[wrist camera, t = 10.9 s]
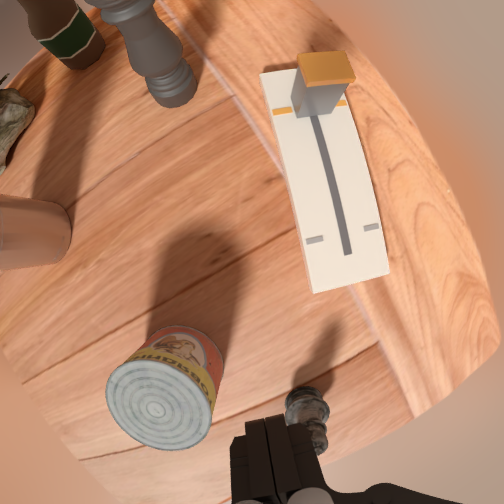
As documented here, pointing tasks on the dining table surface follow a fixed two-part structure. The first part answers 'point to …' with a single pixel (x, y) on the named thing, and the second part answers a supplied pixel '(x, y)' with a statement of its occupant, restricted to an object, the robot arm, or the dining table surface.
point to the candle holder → (151, 49)
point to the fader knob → (320, 82)
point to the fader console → (326, 189)
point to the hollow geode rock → (12, 119)
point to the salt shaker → (309, 414)
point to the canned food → (167, 389)
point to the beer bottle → (64, 31)
